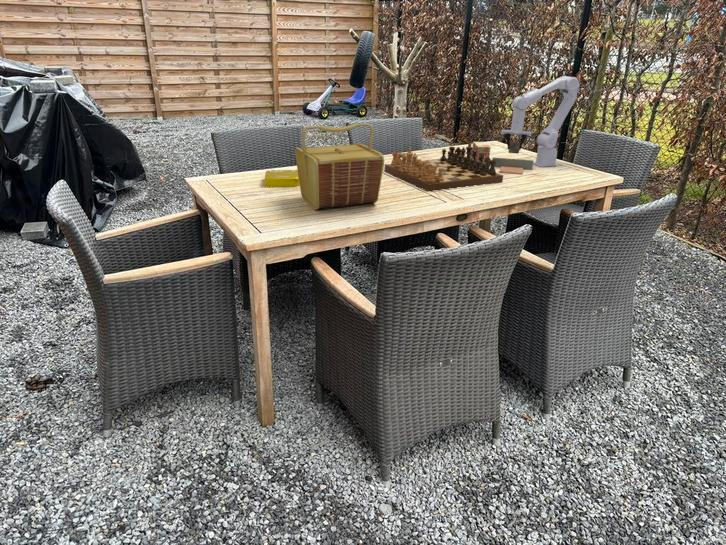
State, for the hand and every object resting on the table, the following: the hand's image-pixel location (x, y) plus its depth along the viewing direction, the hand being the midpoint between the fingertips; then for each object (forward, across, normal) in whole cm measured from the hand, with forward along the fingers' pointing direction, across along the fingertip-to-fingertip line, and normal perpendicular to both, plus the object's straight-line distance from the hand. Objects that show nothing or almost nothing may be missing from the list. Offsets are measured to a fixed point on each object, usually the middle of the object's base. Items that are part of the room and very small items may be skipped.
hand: (514, 149), depth 262 cm
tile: (+8, 0, -12) cm, 15 cm away
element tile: (+10, -96, -70) cm, 120 cm away
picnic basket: (+9, -63, -89) cm, 110 cm away
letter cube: (+2, 0, 0) cm, 2 cm away
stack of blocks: (+9, -17, -7) cm, 20 cm away
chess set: (+9, -31, -34) cm, 47 cm away
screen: (+8, 0, -5) cm, 10 cm away
